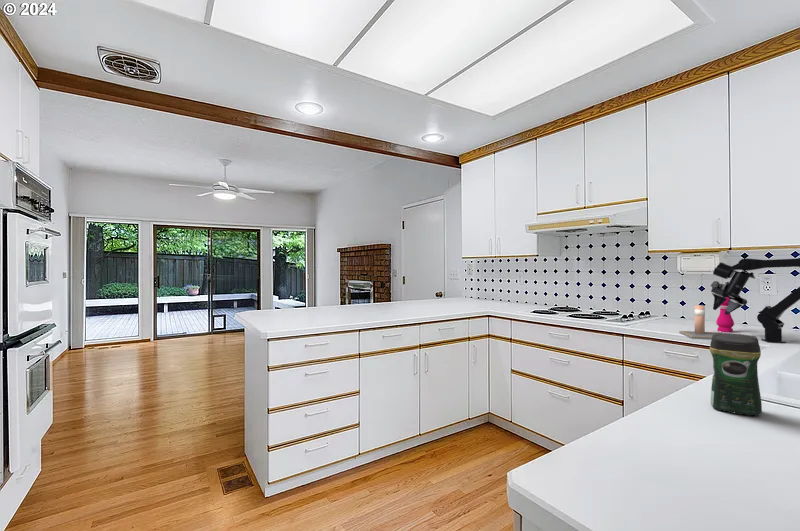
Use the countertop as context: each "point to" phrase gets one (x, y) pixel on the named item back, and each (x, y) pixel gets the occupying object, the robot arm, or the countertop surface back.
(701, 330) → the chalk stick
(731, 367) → the coffee jar
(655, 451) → the countertop surface
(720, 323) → the pepper mill
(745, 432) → the countertop surface
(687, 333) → the slate board
